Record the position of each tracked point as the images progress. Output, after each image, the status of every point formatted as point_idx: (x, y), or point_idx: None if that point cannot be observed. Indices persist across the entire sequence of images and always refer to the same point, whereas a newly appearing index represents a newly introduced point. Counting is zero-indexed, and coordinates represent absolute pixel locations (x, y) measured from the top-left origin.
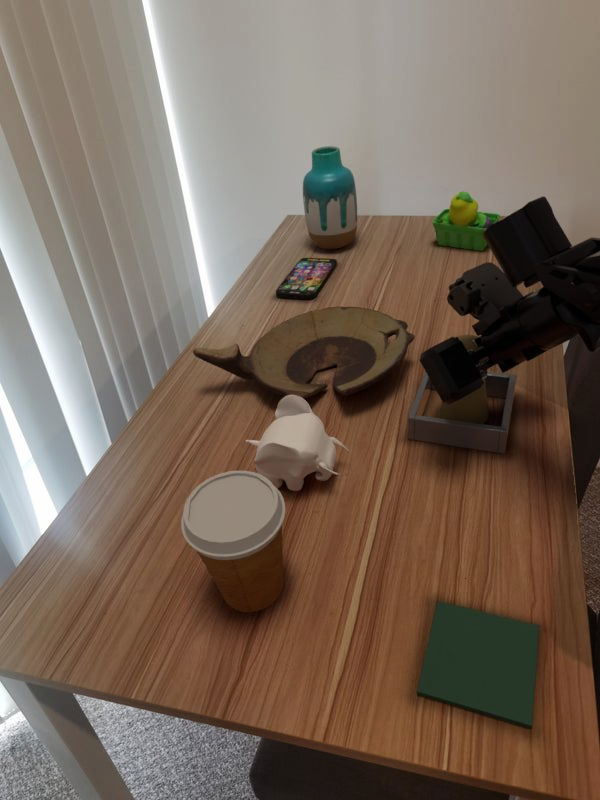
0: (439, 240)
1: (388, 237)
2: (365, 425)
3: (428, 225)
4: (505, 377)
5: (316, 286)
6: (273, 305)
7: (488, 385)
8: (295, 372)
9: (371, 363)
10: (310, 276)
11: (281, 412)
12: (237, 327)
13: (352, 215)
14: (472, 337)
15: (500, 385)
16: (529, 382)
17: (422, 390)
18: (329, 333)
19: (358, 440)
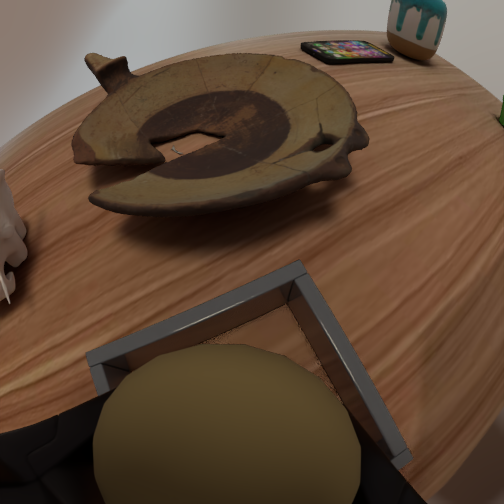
0: (501, 117)
1: (460, 83)
2: (111, 272)
3: (498, 105)
4: (390, 449)
5: (345, 57)
6: (286, 51)
7: (360, 416)
8: (168, 118)
9: (240, 167)
10: (352, 50)
11: (1, 180)
12: (226, 53)
13: (431, 35)
14: (287, 488)
15: (374, 438)
16: (437, 433)
17: (192, 320)
18: (268, 90)
19: (76, 288)
